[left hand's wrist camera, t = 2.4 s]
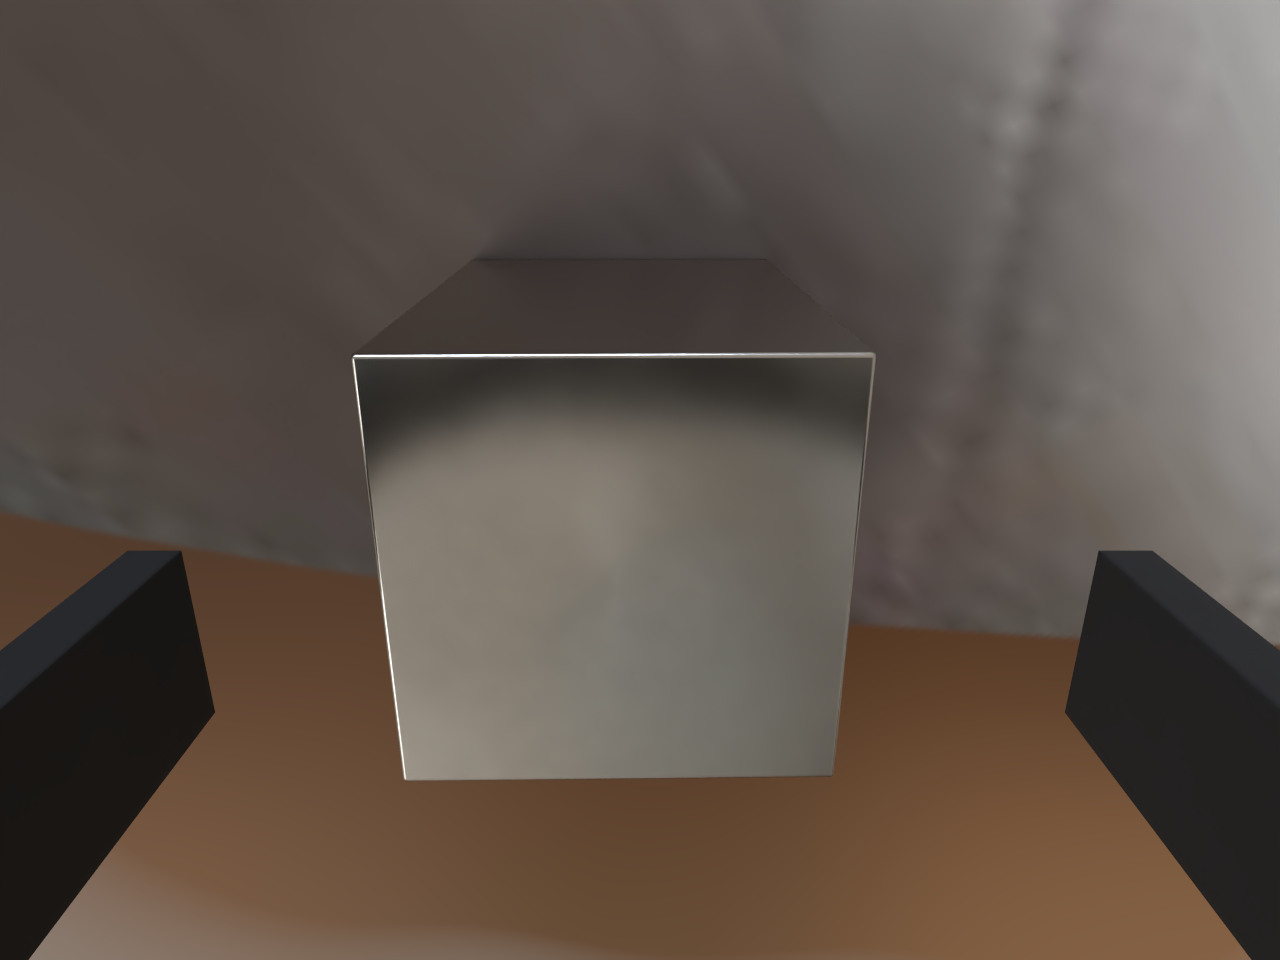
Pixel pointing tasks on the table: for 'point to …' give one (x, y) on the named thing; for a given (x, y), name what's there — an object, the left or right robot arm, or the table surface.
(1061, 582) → the table surface
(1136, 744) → the left robot arm
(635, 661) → the metal block
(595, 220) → the table surface
